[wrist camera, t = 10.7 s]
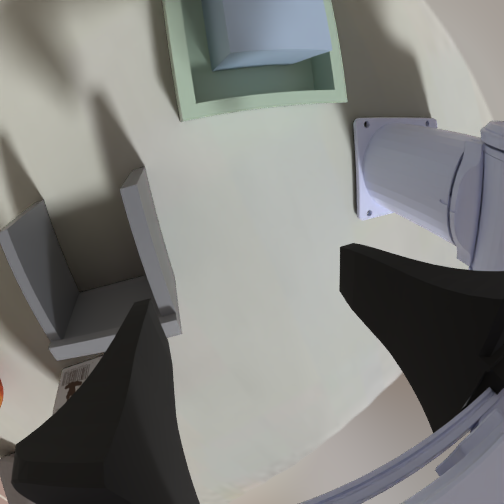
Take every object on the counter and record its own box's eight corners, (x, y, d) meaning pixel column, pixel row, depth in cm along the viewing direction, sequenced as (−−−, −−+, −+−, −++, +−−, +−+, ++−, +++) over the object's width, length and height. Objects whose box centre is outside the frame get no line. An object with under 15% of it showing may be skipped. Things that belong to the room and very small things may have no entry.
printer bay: (144, 166, 17) (135, 187, 11) (175, 278, 20) (182, 334, 15) (34, 203, 15) (-9, 238, 10) (75, 303, 19) (56, 360, 14)
